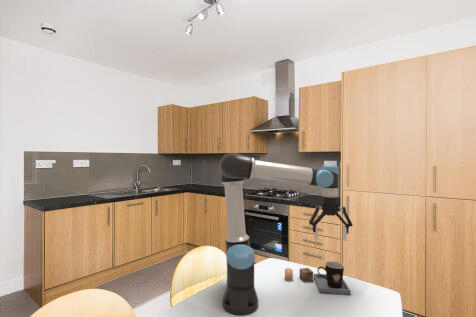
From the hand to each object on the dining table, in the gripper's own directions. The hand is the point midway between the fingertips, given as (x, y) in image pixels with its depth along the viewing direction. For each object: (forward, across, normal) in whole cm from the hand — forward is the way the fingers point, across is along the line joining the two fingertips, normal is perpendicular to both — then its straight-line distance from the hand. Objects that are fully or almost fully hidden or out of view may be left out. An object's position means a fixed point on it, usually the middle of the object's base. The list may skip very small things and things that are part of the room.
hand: (330, 239), depth 121 cm
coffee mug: (+22, 0, 0) cm, 22 cm away
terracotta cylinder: (+23, -20, +4) cm, 30 cm away
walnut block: (+23, -11, +5) cm, 26 cm away
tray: (+22, 0, 0) cm, 23 cm away
